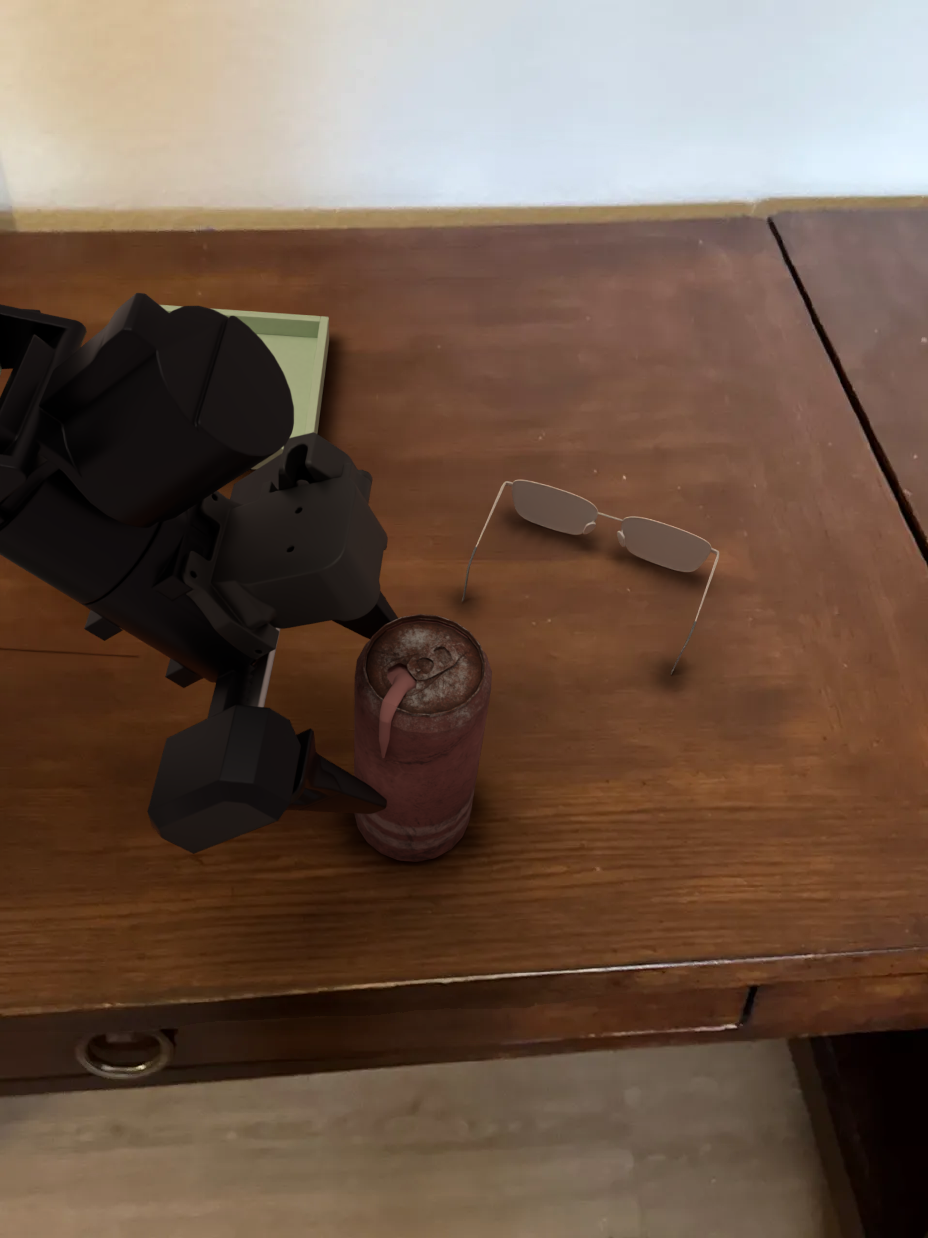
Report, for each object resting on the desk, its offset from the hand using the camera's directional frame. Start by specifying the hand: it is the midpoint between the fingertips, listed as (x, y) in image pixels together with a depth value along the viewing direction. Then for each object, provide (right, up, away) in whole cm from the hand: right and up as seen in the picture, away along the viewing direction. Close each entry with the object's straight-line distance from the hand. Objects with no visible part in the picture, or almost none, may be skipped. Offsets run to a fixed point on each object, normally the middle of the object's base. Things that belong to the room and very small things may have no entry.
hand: (391, 721), depth 57 cm
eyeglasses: (+11, +6, +18) cm, 22 cm away
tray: (-13, +20, +25) cm, 35 cm away
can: (+1, -6, +7) cm, 9 cm away
